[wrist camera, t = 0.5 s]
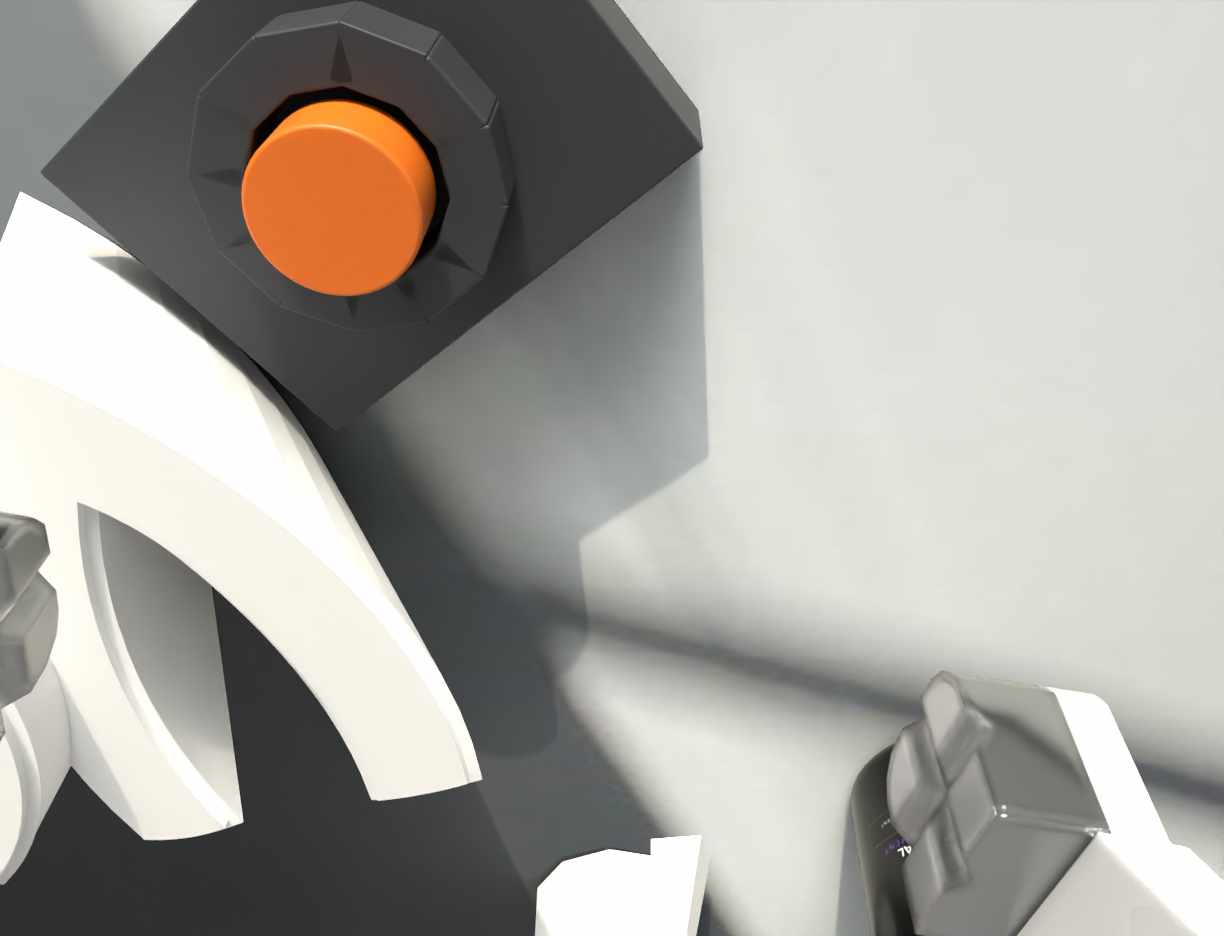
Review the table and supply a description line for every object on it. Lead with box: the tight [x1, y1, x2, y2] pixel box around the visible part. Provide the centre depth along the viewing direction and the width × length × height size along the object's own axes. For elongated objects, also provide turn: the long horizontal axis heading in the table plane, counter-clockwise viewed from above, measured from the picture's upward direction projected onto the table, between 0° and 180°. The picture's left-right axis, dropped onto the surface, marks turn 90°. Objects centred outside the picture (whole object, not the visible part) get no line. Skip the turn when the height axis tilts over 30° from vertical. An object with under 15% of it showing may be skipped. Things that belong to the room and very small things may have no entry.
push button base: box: [41, 0, 703, 432], centre depth 24 cm, size 12×9×4 cm
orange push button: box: [241, 99, 436, 296], centre depth 22 cm, size 4×4×2 cm
